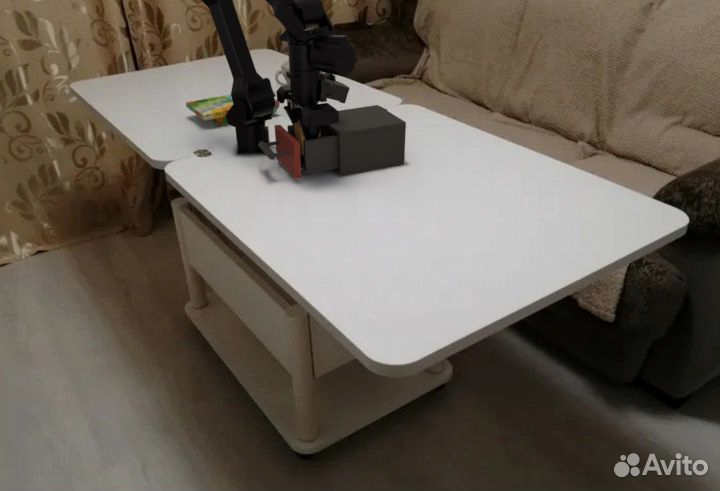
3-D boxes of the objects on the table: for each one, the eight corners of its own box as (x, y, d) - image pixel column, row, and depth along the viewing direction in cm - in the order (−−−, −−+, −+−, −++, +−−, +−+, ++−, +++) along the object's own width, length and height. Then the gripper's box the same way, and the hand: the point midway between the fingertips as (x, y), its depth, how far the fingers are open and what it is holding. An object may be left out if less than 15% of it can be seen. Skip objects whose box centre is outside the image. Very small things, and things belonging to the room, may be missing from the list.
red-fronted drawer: (274, 183, 114) (271, 147, 110) (256, 162, 122) (253, 128, 119) (358, 167, 120) (358, 133, 116) (336, 148, 129) (335, 116, 125)
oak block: (321, 152, 119) (320, 126, 116) (302, 155, 118) (301, 129, 115) (314, 145, 122) (313, 120, 119) (295, 148, 121) (294, 122, 118)
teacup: (314, 82, 178) (313, 55, 173) (334, 93, 168) (333, 64, 164) (268, 89, 171) (265, 61, 167) (285, 101, 162) (283, 71, 158)
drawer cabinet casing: (340, 176, 118) (339, 132, 114) (316, 154, 128) (315, 113, 124) (404, 164, 124) (406, 122, 119) (377, 144, 134) (377, 104, 129)
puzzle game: (278, 97, 148) (201, 111, 139) (280, 116, 151) (204, 130, 141) (259, 86, 157) (185, 99, 147) (260, 104, 159) (188, 117, 150)
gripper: (364, 74, 107) (364, 155, 115) (325, 52, 122) (327, 126, 130) (307, 81, 103) (310, 165, 111) (273, 58, 117) (278, 133, 125)
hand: (308, 146), depth 119 cm, fingers closed on oak block, 4 cm apart
